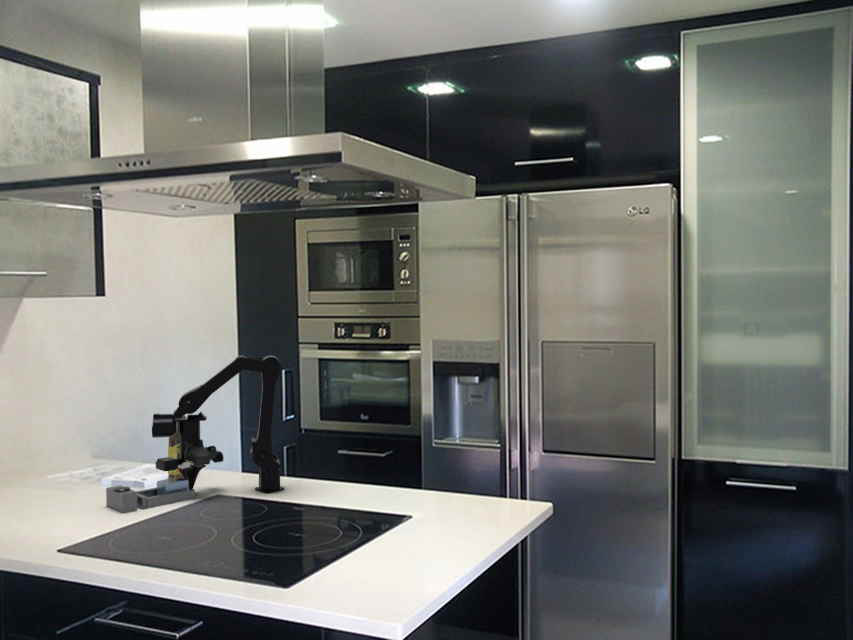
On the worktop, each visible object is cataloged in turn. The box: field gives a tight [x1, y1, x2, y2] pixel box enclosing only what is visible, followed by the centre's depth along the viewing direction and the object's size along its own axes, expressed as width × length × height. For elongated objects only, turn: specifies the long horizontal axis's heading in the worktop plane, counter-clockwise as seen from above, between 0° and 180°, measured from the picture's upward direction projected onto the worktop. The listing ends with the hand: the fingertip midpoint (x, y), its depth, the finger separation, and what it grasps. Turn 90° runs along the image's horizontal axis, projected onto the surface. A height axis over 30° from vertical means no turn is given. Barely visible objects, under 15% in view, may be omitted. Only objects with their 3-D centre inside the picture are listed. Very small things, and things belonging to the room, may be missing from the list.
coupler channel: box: [105, 485, 196, 514], centre depth 220 cm, size 11×21×5 cm, turn 136°
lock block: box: [156, 477, 189, 495], centre depth 225 cm, size 5×7×5 cm
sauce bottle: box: [167, 414, 188, 479], centre depth 248 cm, size 6×6×20 cm
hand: (190, 489), depth 229 cm, fingers closed
